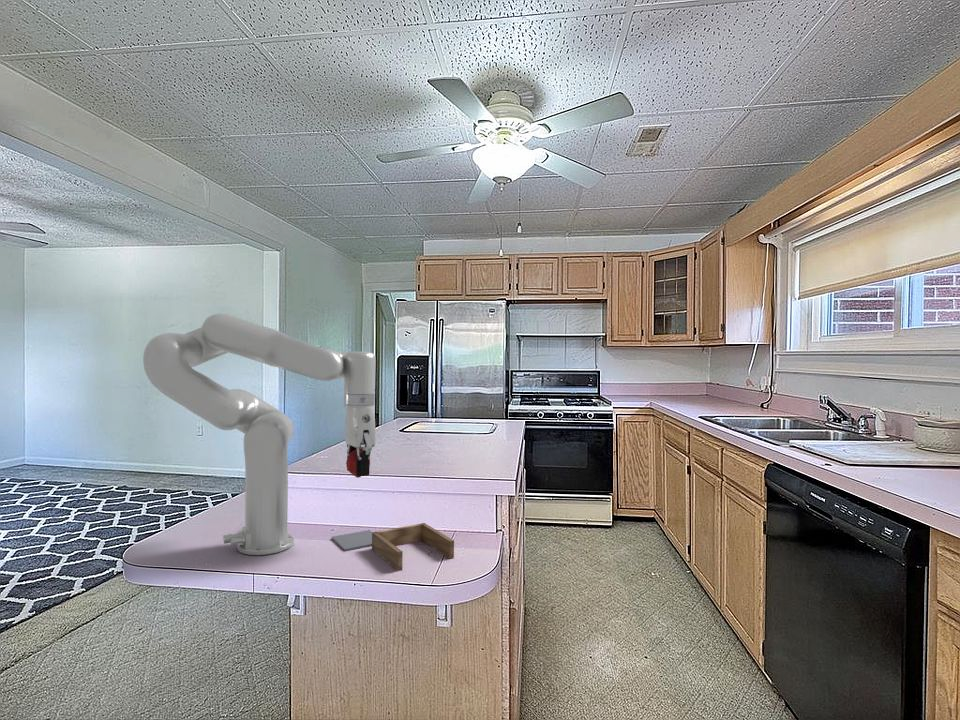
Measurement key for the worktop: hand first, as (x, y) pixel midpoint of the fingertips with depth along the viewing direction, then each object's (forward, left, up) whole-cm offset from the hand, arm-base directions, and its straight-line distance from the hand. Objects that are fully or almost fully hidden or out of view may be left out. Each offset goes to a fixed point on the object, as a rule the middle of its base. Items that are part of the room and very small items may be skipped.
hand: (357, 472), depth 130 cm
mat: (0, 0, -17) cm, 17 cm away
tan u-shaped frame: (+8, -15, -17) cm, 24 cm away
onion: (0, 0, -2) cm, 2 cm away
